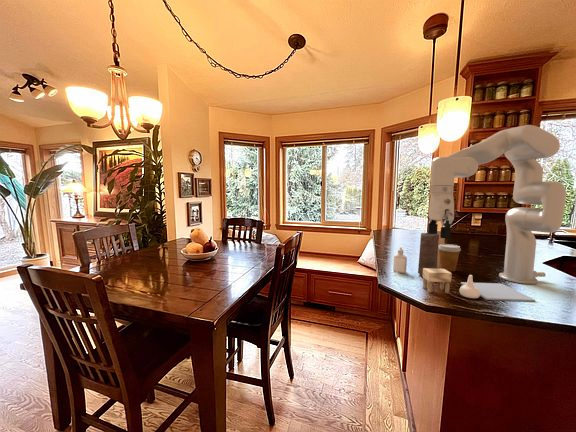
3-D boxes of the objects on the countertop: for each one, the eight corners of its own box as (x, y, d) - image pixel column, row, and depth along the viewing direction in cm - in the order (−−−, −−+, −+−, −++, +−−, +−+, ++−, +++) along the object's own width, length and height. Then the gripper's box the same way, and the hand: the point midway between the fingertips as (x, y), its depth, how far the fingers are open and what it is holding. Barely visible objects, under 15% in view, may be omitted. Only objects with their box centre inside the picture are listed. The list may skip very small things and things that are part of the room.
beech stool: (442, 288, 101) (444, 268, 100) (450, 293, 95) (451, 273, 95) (421, 287, 102) (422, 268, 101) (428, 292, 96) (429, 272, 95)
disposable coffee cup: (459, 268, 127) (460, 245, 126) (459, 273, 119) (461, 248, 118) (437, 265, 132) (438, 243, 131) (436, 270, 124) (437, 246, 123)
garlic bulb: (459, 292, 98) (458, 272, 98) (479, 294, 95) (478, 273, 95) (460, 298, 93) (459, 276, 93) (481, 300, 90) (480, 278, 89)
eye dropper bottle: (400, 274, 119) (401, 248, 117) (391, 270, 124) (392, 246, 123) (407, 272, 120) (408, 248, 119) (398, 269, 125) (399, 245, 124)
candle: (439, 279, 111) (441, 234, 109) (420, 278, 112) (423, 234, 110) (432, 274, 118) (435, 231, 116) (415, 273, 119) (417, 231, 118)
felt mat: (501, 285, 105) (501, 283, 104) (535, 301, 89) (535, 299, 89) (460, 283, 106) (460, 282, 106) (486, 299, 90) (486, 298, 90)
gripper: (465, 190, 86) (462, 240, 88) (440, 191, 103) (437, 232, 105) (442, 190, 87) (439, 239, 88) (421, 190, 104) (418, 232, 105)
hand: (438, 235), depth 96 cm, fingers open, 9 cm apart
